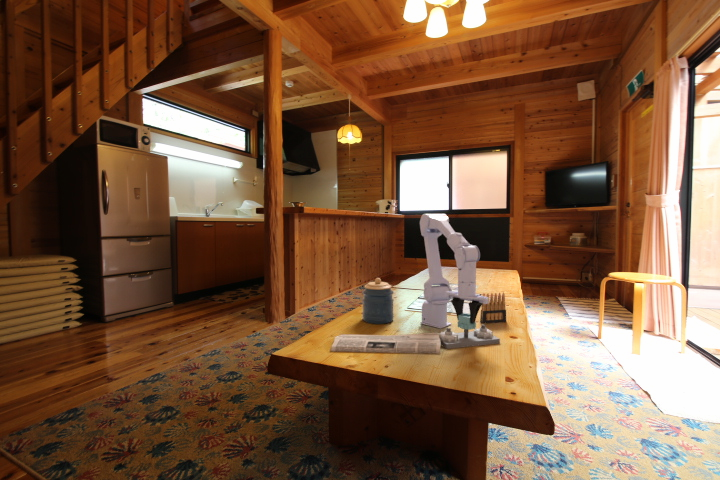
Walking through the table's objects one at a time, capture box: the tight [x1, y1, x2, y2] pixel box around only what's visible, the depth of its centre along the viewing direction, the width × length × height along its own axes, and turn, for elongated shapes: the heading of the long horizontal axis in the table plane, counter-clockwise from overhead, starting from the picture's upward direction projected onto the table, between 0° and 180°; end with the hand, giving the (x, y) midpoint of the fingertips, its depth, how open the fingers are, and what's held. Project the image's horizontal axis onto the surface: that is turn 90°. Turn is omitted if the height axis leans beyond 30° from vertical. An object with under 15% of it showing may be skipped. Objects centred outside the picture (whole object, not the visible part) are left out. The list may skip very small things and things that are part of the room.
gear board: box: [438, 324, 501, 350], centre depth 111 cm, size 20×9×5 cm, turn 104°
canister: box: [361, 277, 395, 325], centre depth 136 cm, size 13×13×18 cm
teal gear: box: [457, 312, 477, 331], centre depth 111 cm, size 6×6×4 cm
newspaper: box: [330, 332, 442, 355], centre depth 108 cm, size 35×12×4 cm, turn 86°
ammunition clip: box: [479, 291, 507, 325], centre depth 132 cm, size 11×2×12 cm, turn 101°
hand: (466, 321), depth 111 cm, fingers closed on teal gear, 4 cm apart
